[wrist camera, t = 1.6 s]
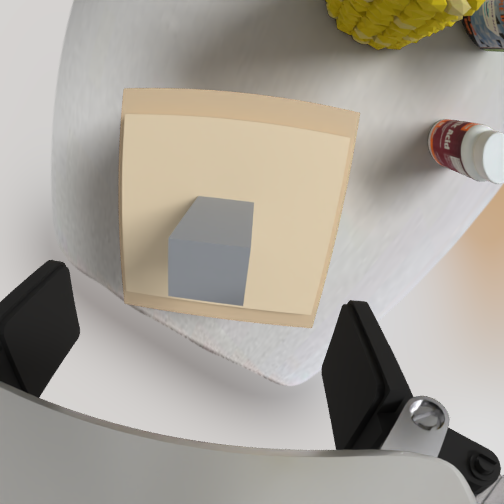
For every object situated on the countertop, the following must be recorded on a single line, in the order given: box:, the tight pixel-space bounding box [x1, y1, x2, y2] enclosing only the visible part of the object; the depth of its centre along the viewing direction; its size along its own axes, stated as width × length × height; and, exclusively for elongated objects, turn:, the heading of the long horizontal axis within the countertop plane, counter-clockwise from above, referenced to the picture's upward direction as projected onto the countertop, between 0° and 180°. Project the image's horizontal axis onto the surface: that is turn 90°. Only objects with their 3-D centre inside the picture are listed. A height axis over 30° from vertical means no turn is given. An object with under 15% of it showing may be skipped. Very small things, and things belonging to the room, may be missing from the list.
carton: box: [119, 88, 360, 328], centre depth 22 cm, size 14×13×10 cm
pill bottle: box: [428, 119, 504, 184], centre depth 21 cm, size 5×5×8 cm
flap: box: [122, 114, 350, 315], centre depth 15 cm, size 11×12×6 cm
